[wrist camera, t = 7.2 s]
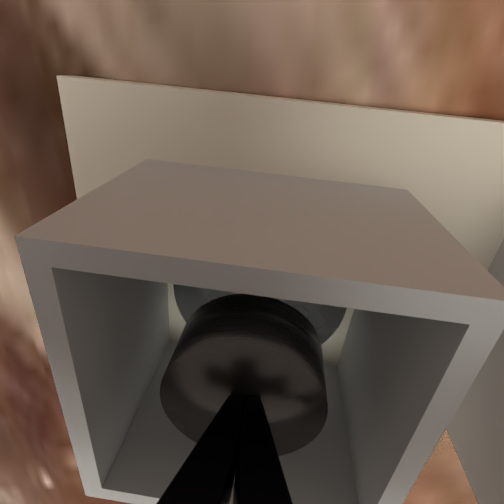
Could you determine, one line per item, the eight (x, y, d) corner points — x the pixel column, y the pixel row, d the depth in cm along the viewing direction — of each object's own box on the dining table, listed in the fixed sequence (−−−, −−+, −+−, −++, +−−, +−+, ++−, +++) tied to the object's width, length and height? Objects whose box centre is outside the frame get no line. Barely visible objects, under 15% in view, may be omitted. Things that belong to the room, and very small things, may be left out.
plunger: (364, 220, 12) (416, 325, 7) (327, 358, 15) (344, 497, 10) (178, 197, 12) (99, 281, 7) (180, 336, 16) (126, 461, 11)
